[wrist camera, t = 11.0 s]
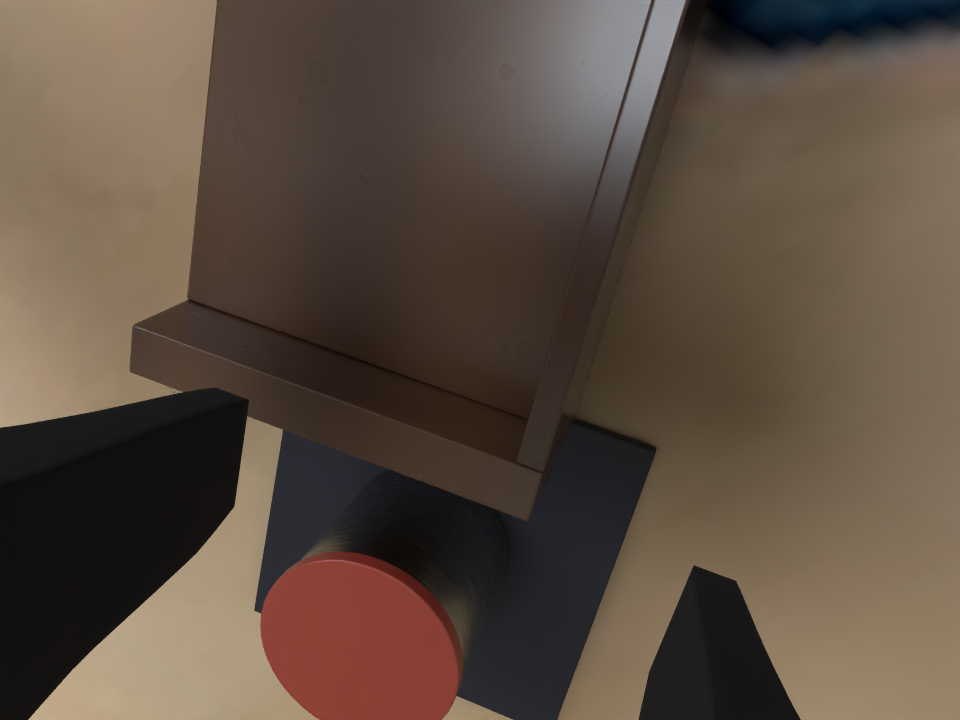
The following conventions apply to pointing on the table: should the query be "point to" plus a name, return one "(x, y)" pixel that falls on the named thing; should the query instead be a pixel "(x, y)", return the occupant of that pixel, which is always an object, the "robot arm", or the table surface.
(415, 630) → the cylinder
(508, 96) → the desk shelf
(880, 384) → the table surface
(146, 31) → the table surface
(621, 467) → the felt coaster
